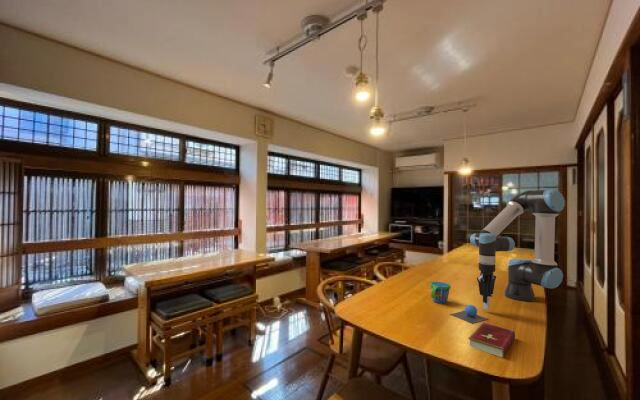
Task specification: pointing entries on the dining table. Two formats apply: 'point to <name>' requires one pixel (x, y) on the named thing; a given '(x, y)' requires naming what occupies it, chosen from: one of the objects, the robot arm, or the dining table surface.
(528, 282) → the robot arm
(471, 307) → the ball
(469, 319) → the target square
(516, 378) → the dining table surface
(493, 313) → the dining table surface
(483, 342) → the hardcover book
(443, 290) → the snack cup
